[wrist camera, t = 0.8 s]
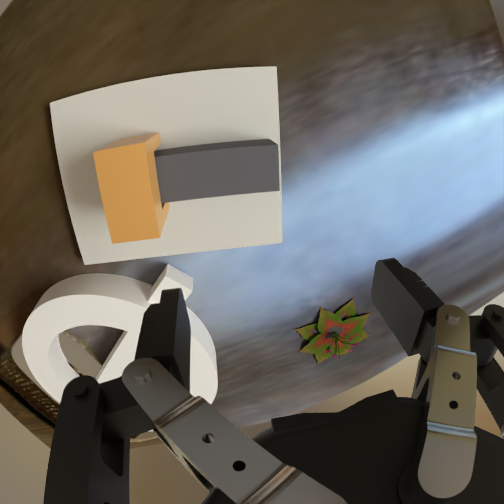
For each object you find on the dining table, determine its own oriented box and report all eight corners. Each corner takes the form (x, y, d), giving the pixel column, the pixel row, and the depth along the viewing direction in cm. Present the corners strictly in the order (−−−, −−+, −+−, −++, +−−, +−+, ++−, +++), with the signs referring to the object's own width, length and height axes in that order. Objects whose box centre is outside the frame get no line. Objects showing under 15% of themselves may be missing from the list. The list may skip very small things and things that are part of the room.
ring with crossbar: (190, 253, 35) (188, 276, 30) (231, 400, 48) (233, 423, 44) (4, 287, 33) (-11, 307, 29) (84, 410, 46) (79, 430, 42)
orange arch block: (118, 139, 26) (92, 152, 20) (159, 132, 26) (144, 142, 20) (130, 212, 29) (112, 243, 23) (169, 207, 30) (160, 237, 23)
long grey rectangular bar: (121, 156, 27) (109, 164, 23) (269, 138, 28) (278, 144, 25) (128, 195, 29) (117, 209, 25) (270, 179, 30) (279, 190, 26)
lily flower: (311, 369, 47) (318, 391, 43) (279, 324, 41) (286, 348, 37) (378, 334, 45) (390, 353, 41) (358, 282, 40) (373, 302, 36)
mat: (56, 102, 24) (49, 102, 23) (273, 67, 26) (276, 66, 25) (88, 258, 33) (84, 264, 31) (279, 236, 35) (282, 242, 33)
